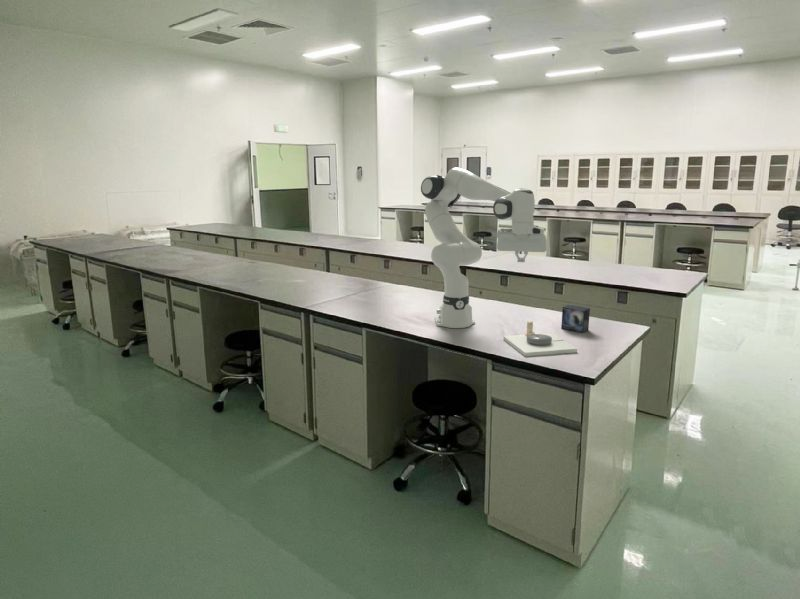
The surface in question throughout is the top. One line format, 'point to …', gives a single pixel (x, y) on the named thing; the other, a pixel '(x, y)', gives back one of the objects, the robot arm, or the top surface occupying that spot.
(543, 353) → the dial plate
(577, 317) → the small box
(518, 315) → the top surface
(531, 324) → the dial
